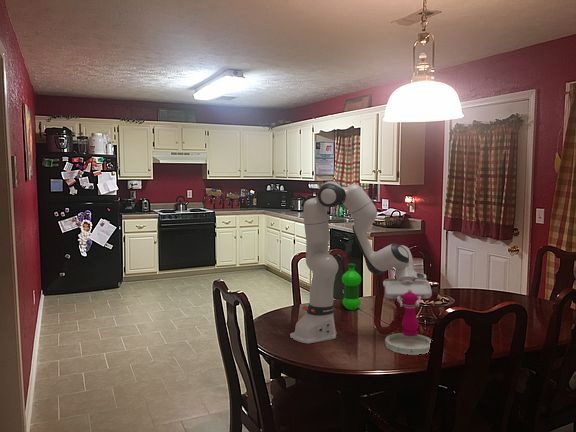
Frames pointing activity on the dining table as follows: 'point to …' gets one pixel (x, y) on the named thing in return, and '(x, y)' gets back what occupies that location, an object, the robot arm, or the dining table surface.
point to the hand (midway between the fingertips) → (409, 306)
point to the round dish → (408, 344)
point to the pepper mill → (410, 314)
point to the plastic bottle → (351, 288)
